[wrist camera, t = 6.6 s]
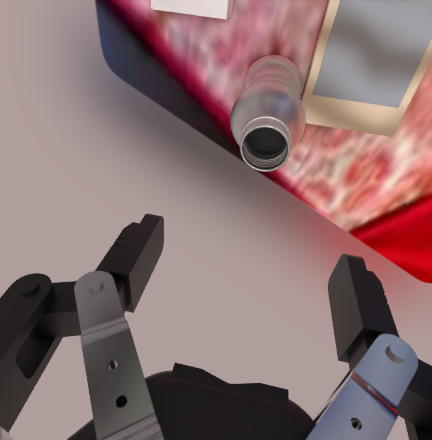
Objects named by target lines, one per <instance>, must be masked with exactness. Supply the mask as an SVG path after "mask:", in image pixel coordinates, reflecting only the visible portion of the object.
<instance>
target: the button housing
mask: <svg viewBox="0 0 432 440" xmlns="http://www.w3.org/2000/svg"><path fill="white" fill-rule="evenodd" d="M232 8H233V0H151V9H154V10H161V11H169V12H176V13H183V14H191V15H198V16H205V17H213V18H220V19H228V18H229V17H231V16H232Z"/></svg>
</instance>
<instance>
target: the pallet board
mask: <svg viewBox="0 0 432 440" xmlns="http://www.w3.org/2000/svg"><path fill="white" fill-rule="evenodd" d="M431 59H432V0H328V3H327V6H326V10H325V14H324V17H323V21H322V25H321V28H320V32H319V36H318V39H317V43H316V47H315V50H314V54H313V58H312V61H311V65H310V69H309V72H308V76H307V80H306V83H305V87H304V91H303V94H302V98H301V101H302V104H303V107H304V109H305V114H306V123H309V124H315V125H321V126H328V127H334V128H340V129H346V130H353V131H359V132H365V133H371V134H377V135H384V136H390V137H393V135H394V133H395V131H396V129H397V127H398V125H399V123H400V121H401V119H402V117H403V115H404V113H405V111H406V109H407V107H408V105H409V103H410V101H411V99H412V97H413V95H414V93H415V91H416V89H417V87H418V85H419V83H420V81H421V79H422V77H423V75H424V73H425V71H426V69H427V67H428V65H429V63H430V61H431Z"/></svg>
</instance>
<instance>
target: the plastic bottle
mask: <svg viewBox="0 0 432 440" xmlns="http://www.w3.org/2000/svg"><path fill="white" fill-rule="evenodd" d="M244 87H245V90H244V91H243V92H242V93H241V94H240V95H239V97H238V98H237V99H236V101H235V103H234V105H233V107H232V111H231V117H230V123H231V129H232V132H233V135H234V138H235V139H236V141H237V143H238V144H239V146H240V151H241V155H242V158H243V159H244V161H245V162H246V163H247V164H248V165H249V166H250V167H251V168H253V169H255V170H258V171H263V172H268V171H273V170H276V169H278V168H280V167H281V166H282V165H283V164H284V163H285V162H286V161H287V159H288V157H289V154H290V151H291V150H292V149H293V148H294V147H295V146H296V144H297V143H298V142H299V140H300V139H301V137H302V135H303V133H304V130H305V126H306V114H305V109H304V107H303V104H302V101H301V99H300V98H299V94H300V89H301V78H300V74H299V71H298V69H297V68H296V66H295V65H294V64H293V63H292V62H291V61H290V60H289V59H287V58H285V57H283V56H280V55H268V56H264V57H262V58H260V59H258V60H257V61H256V62H254V63H253V64H252V66H251V67H250V68H249V70H248V72H247V74H246V78H245V84H244Z"/></svg>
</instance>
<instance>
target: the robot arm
mask: <svg viewBox="0 0 432 440" xmlns="http://www.w3.org/2000/svg"><path fill="white" fill-rule="evenodd" d="M163 244H164V219H163V217H162V216H157V215H152V214H146V215H145V216H144V218H143V219H142V221H141V223H140V224H139V223H134V222H133V223H131V224H130V225H128V226H127V227H125V228H124V229H123V230H122V232H121V233H120V235H119V236H118V238H117V239H116V241H115V242H114V245H112V247H111V248H110V250H109V251H108V253H107V254H106V255H105V257H104V259H103V260H102V261H101V263H100V264H99V266H98V267H97V269H96V270H95V271H93V272H89V273H87V274H85V275H84V276H82V277H81V278H79V279H78V281H73V282H59V283H52V282H51V280H50V278H49V277H48V276H46V275H44V274H39V273H36V274H29V275H26V276H23V277H21V278H19V279H18V280H16V281H15V282H14V283H13V284H12V285H11V286H10V287H9V288H8V289H7V291H6V292H5V293H4V294H3V296H2V297H1V298H0V440H13V438H12V437H11V436H10V434H9V431H10V429H11V427H12V426H13V424H14V422H15V420H16V419H17V417H18V415H19V413H20V412H21V410H22V408H23V406H24V404H25V402H26V401H27V399H28V397H29V396H30V394H31V392H32V391H33V389H34V387H35V385H36V384H37V382H38V380H39V378H40V377H41V375H42V373H43V371H44V370H45V368H46V366H47V364H48V363H49V361H50V359H51V357H52V356H53V354H54V352H55V350H56V349H57V347H58V345H59V343H60V341H61V339H62V338H63V337H67V336H78V335H82V336H81V344H82V351H83V357H84V363H85V369H86V375H87V381H88V387H89V394H90V400H91V406H92V412H93V419H92V420H91V421H89V422H88V423H87V424H86V425H84V426H83V427H82V428H81V429H79V430H78V431H77V432H76V433H74V434H73V435H72V436H71V437H69V438H68V439H67V440H386V439H387V437H388V435H389V433H390V431H391V429H392V427H393V426H394V423H395V421H396V420H397V417H398V415H399V416H401V417H402V418H404V419H405V424H406V428H407V432H408V437H409V440H432V366H431V365H429V364H427V363H425V362H423V361H421V360H419V359H418V358H417V356H416V354H415V352H414V350H413V349H412V348H411V347H410V345H408V344H407V343H406V342H405V341H404V340H402V339H401V338H400V337H399V335H398V332H397V329H396V326H395V323H394V320H393V317H392V314H391V311H390V308H389V305H388V304H387V299H386V296H385V295H384V290H383V287H382V284H381V282H380V280H379V279H378V278H377V277H376V275H375V274H374V273H373V272H371V271H367V269H366V266H365V262H364V259H363V258H362V257H358V256H353V255H348V254H343V255H342V256H341V257H340V259H339V261H338V263H337V265H336V267H335V268H334V270H333V273H332V274H331V276H330V279H329V282H328V293H329V300H330V307H331V314H332V321H333V327H334V335H335V341H336V348H337V355H338V360H339V361H343V362H348V363H349V368H350V370H349V371H348V372H347V374H346V375H345V376H344V378H343V379H342V381H341V382H340V383H339V385H338V386H337V387H336V389H335V390H334V391H333V393H332V394H331V396H330V397H329V398H328V400H327V401H326V402H325V404H324V405H323V406H322V408H321V409H320V410H319V412H318V413H317V414H316V415H315V417H314V418H313V419H312V418H311V417H310V416H309V415H308V414H307V413H306V412H305V411H304V410H303V409H302V408H300V406H298V405H297V404H295V403H294V402H293V401H291V400H289V399H288V390H287V389H283V388H279V387H275V386H270V385H266V384H262V383H250V384H249V383H246V384H229V383H227V382H225V381H223V380H221V379H219V378H217V377H216V376H214V375H212V374H210V373H208V372H206V371H205V370H203V369H199V368H195V367H191V366H187V365H183V364H178V363H175V364H174V367H173V371H164V372H160V373H156V374H153V375H151V376H149V377H147V378H144V375H143V371H142V368H141V365H140V362H139V358H138V355H137V352H136V348H135V345H134V342H133V338H132V335H131V331H130V328H129V325H128V322H127V321H126V319H125V316H124V313H125V311H129V312H134V310H135V308H136V306H137V304H138V302H139V300H140V298H141V296H142V293H143V291H144V289H145V287H146V285H147V283H148V281H149V279H150V276H151V274H152V272H153V270H154V268H155V265H156V264H157V262H158V259H159V257H160V255H161V253H162V250H163Z"/></svg>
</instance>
